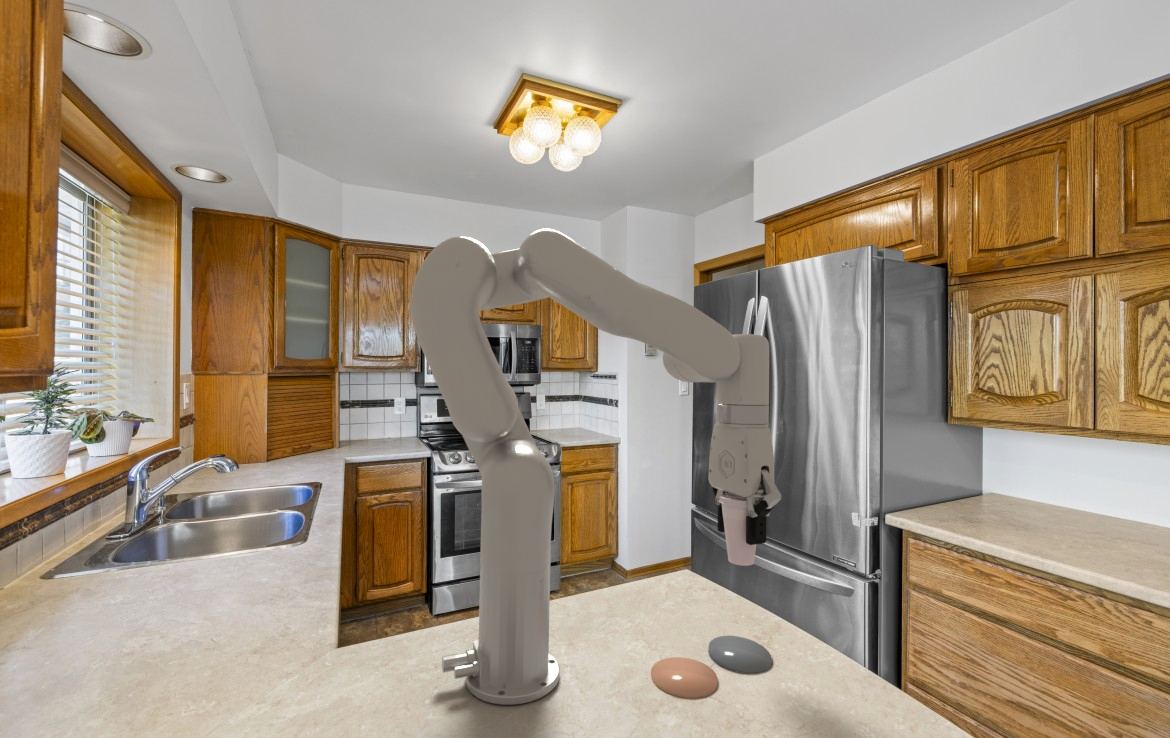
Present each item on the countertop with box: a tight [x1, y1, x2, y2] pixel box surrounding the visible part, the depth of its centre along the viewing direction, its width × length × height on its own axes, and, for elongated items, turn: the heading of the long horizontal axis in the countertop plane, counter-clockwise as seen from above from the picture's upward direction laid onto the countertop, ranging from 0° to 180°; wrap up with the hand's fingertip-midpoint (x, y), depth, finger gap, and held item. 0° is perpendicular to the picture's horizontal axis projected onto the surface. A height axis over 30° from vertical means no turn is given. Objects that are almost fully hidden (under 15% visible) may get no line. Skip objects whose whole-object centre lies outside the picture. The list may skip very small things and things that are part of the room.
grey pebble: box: [707, 635, 773, 674], centre depth 78 cm, size 9×9×1 cm
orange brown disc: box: [650, 656, 719, 699], centre depth 72 cm, size 9×9×1 cm
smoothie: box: [719, 493, 759, 567], centre depth 78 cm, size 6×6×14 cm
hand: (741, 535), depth 78 cm, fingers closed on smoothie, 5 cm apart
